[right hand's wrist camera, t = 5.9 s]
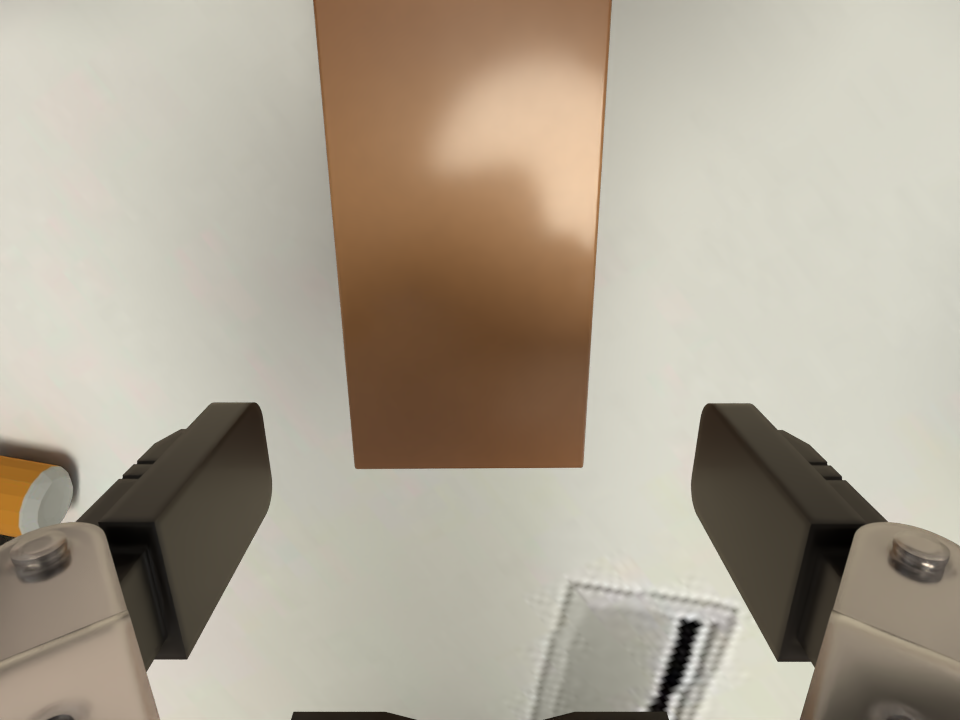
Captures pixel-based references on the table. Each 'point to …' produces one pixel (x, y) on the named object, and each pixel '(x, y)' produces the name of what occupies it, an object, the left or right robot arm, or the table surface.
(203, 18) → the table surface
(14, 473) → the spray gun
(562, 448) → the box
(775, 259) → the table surface
